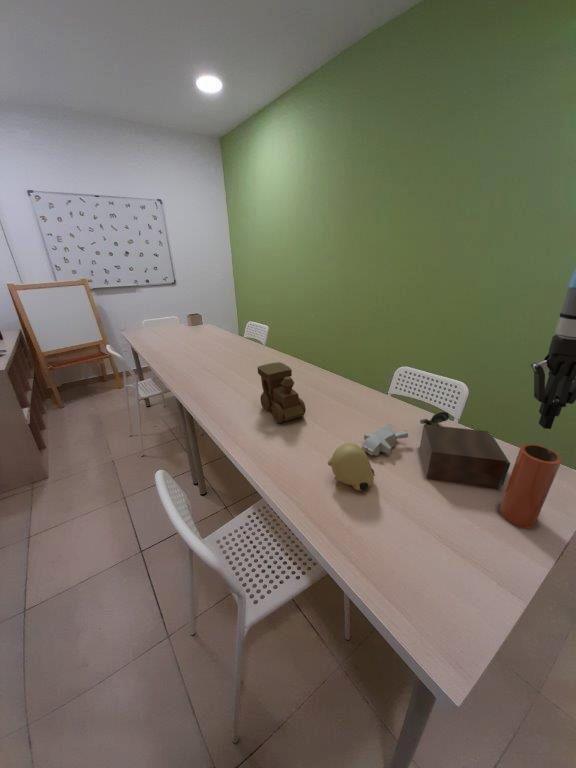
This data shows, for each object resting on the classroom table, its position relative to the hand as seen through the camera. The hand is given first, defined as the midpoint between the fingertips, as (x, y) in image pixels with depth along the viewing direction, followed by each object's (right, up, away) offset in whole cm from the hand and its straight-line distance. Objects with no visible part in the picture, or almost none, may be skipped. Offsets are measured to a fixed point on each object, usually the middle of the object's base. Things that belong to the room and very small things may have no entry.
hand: (544, 425), depth 77 cm
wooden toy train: (-69, 0, +37) cm, 78 cm away
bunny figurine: (-37, -9, +15) cm, 41 cm away
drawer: (-18, -12, +5) cm, 22 cm away
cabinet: (-20, -12, +6) cm, 24 cm away
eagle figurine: (-18, -5, +23) cm, 30 cm away
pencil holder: (-15, -19, -10) cm, 26 cm away
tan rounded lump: (-50, -15, +2) cm, 52 cm away
